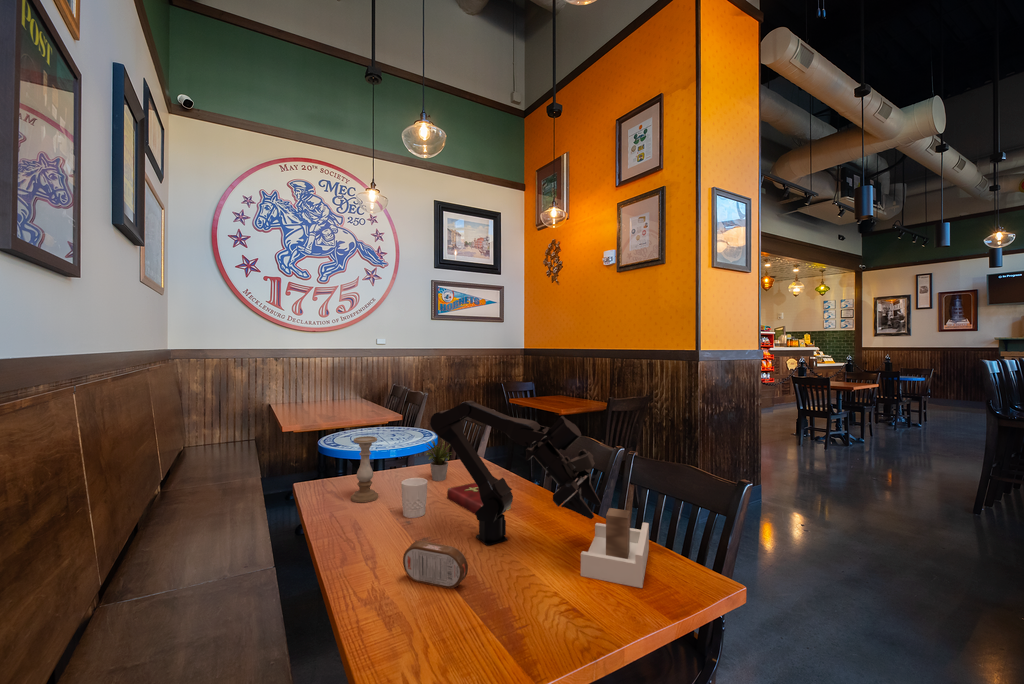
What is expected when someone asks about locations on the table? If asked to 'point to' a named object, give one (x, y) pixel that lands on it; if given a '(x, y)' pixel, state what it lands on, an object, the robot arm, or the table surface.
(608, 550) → the walnut block
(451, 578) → the tin
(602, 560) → the toy armchair
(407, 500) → the white cup
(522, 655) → the table surface
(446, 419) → the robot arm
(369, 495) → the candle holder
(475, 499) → the hardcover book
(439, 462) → the house plant
